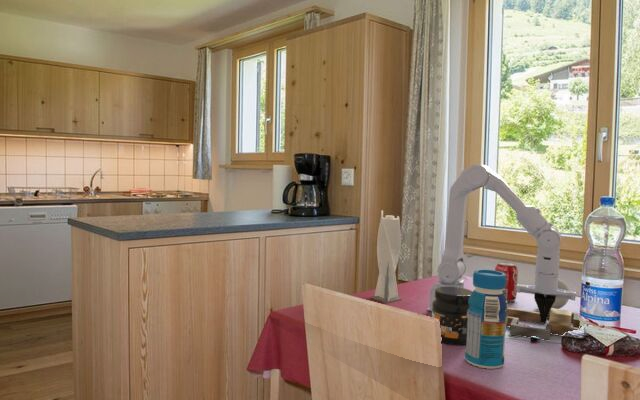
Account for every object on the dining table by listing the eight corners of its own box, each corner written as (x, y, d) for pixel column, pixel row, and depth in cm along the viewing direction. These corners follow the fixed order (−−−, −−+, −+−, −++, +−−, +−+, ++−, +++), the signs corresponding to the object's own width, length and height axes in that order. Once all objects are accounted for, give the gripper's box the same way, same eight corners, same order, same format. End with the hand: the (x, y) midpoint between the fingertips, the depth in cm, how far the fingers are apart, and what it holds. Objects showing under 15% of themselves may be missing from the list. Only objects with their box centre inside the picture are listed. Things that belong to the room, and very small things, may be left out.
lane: (488, 330, 132) (489, 317, 132) (501, 309, 152) (502, 298, 152) (583, 347, 122) (584, 333, 121) (584, 322, 142) (585, 310, 142)
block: (548, 330, 134) (549, 312, 133) (550, 325, 138) (551, 307, 137) (569, 334, 131) (570, 315, 131) (570, 329, 135) (571, 311, 135)
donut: (533, 308, 154) (535, 276, 154) (532, 306, 158) (534, 274, 157) (569, 313, 151) (571, 280, 150) (567, 310, 154) (569, 278, 154)
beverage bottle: (456, 361, 110) (462, 271, 109) (475, 352, 116) (481, 266, 115) (493, 373, 104) (499, 278, 103) (511, 363, 110) (517, 273, 109)
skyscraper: (367, 296, 161) (371, 209, 159) (384, 293, 166) (388, 209, 164) (386, 303, 155) (391, 212, 153) (404, 299, 160) (408, 211, 158)
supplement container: (422, 337, 125) (424, 290, 124) (443, 328, 132) (446, 283, 131) (460, 349, 118) (463, 299, 117) (481, 339, 125) (484, 291, 124)
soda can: (512, 297, 167) (515, 261, 166) (518, 303, 160) (521, 266, 159) (490, 296, 168) (493, 260, 167) (496, 301, 161) (498, 264, 160)
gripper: (516, 271, 135) (513, 321, 136) (576, 279, 128) (572, 331, 129) (519, 267, 141) (516, 314, 142) (577, 274, 135) (573, 323, 136)
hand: (543, 322), depth 136 cm, fingers closed
